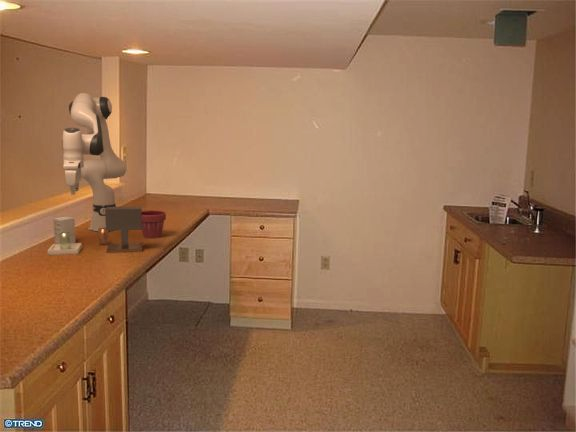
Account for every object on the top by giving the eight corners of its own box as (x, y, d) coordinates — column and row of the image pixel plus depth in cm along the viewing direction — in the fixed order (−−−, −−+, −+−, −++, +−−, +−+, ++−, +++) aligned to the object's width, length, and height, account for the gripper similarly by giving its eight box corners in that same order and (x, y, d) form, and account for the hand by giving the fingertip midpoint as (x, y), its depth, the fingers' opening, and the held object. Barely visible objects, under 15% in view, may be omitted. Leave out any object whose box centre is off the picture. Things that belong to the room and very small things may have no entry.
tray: (53, 248, 272) (52, 244, 271) (82, 247, 274) (81, 243, 274) (47, 255, 259) (47, 250, 259) (77, 254, 262) (77, 249, 261)
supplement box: (68, 240, 289) (66, 216, 286) (76, 242, 284) (74, 217, 282) (54, 243, 283) (52, 218, 281) (62, 245, 278) (60, 219, 276)
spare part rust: (99, 243, 283) (98, 227, 282) (109, 243, 284) (108, 227, 283) (98, 245, 279) (97, 229, 278) (108, 245, 280) (107, 229, 278)
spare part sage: (61, 248, 268) (60, 231, 267) (71, 248, 269) (70, 231, 268) (59, 250, 264) (58, 233, 263) (69, 250, 265) (68, 233, 264)
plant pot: (159, 240, 292) (158, 215, 290) (133, 238, 295) (133, 214, 293) (170, 234, 306) (169, 211, 304) (146, 233, 309) (145, 209, 307)
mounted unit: (109, 246, 276) (107, 206, 273) (143, 245, 280) (141, 205, 276) (106, 252, 265) (104, 210, 261) (142, 251, 268) (140, 209, 265)
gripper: (70, 160, 275) (71, 189, 278) (62, 166, 255) (63, 196, 258) (84, 160, 276) (85, 189, 279) (77, 166, 256) (78, 196, 259)
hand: (74, 192), depth 268 cm, fingers open, 8 cm apart
